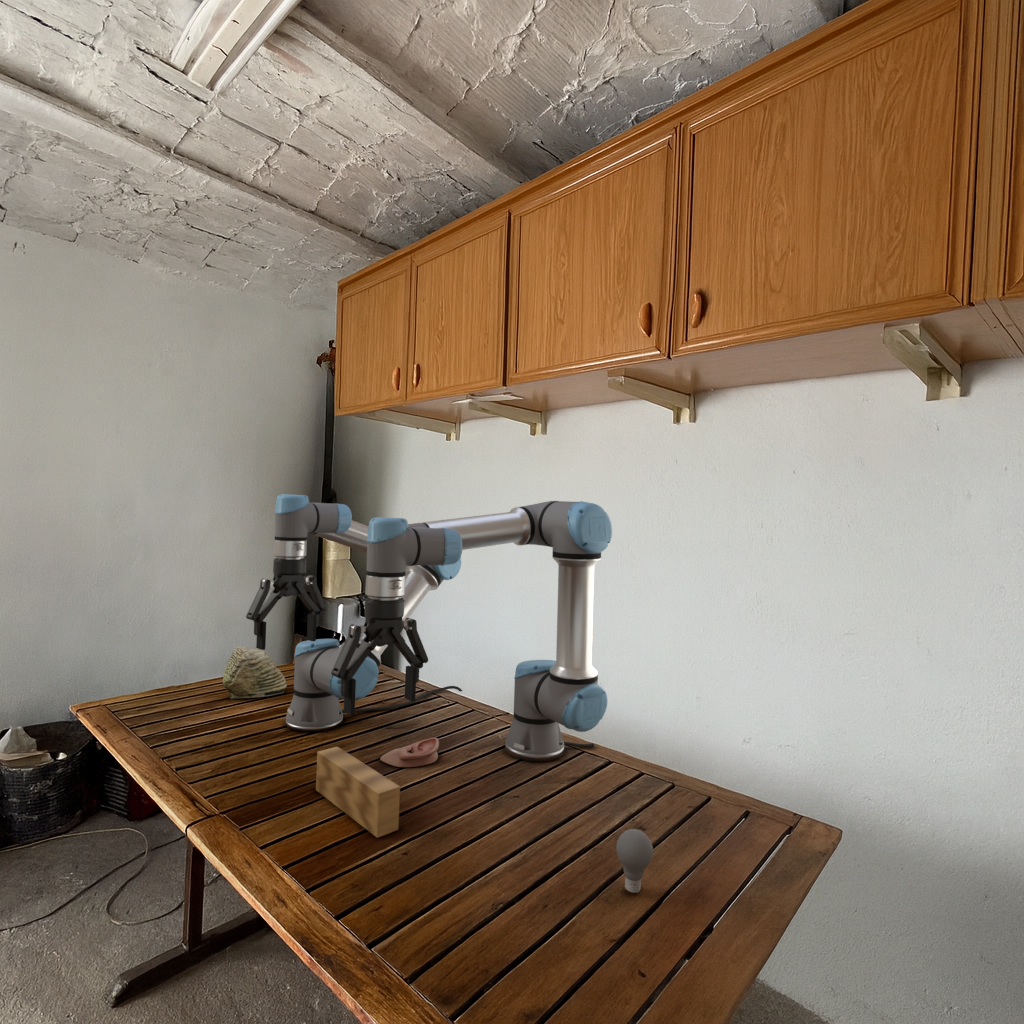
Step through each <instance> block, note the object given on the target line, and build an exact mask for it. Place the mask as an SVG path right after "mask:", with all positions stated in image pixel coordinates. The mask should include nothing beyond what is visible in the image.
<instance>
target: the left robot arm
mask: <svg viewBox="0 0 1024 1024" xmlns="http://www.w3.org/2000/svg"><path fill="white" fill-rule="evenodd" d="M274 514H275V515H274V543H273V556H274V559H273V564H272V565H273V566H272V572H273V578H272V579H268V578H261V579H260V583H259V588H258V591H257V592H256V594H255V596H254V598H253V601H252V602H251V605H250V606H249V609H248V611H247V613H246V615H245V618H246V619H247V620H249V621H253V635H254V636H256V641H255V642H256V643H255V645H256V646H255V649H257V648H258V649H261V650H264V651H265V650H266V646H267V645H266V641H267V621H264V620H265V619H266V618H267V616H268V615H269V613H270V612H271V611H272V609H273V608H274V607H275V606H276V604H277V603H278V602H279V600H281V599H282V598H283V597H285V598H287V597H290V596H293V597H295V596H296V597H298V598H299V600H301V602H302V603H303V605H304V606H305V607H306V608H307V610H309V612H310V613H307V623H306V640H304V641H300V642H299V643H297V644H296V646H295V650H294V655H293V657H294V672H293V673H294V674H293V695H292V696H293V697H292V699H291V702H290V704H289V707H288V708H287V710H286V712H287V713H286V715H285V726H286V728H287V729H289V730H291V731H294V732H295V731H296V732H301V733H316V732H325V731H329V730H332V729H335V728H337V727H339V726H340V725H342V723H343V722H344V714H347V713H346V712H344V709H342V706H341V702H340V700H344V696H342V695H341V678H338V677H335V676H333V675H332V674H331V672H332V669H333V667H334V665H335V663H336V661H337V659H338V657H339V654H340V652H341V650H342V648H343V646H344V644H345V641H346V639H345V640H344V641H343V642H342V643H341V644H340V641H339V639H337V638H318V639H317V628H318V627H319V624H320V616H321V615H322V614H323V612H326V611H327V606H326V603H325V601H324V599H323V597H322V594H321V591H320V588H319V586H318V581H317V576H315V575H310V574H308V575H306V576H305V574H306V573H307V559H306V558H304V557H306V556H307V544H308V543H307V542H308V534H309V535H313V536H315V537H319V538H322V539H325V540H328V541H331V542H334V543H337V544H340V545H341V546H344V547H348V548H351V549H354V550H357V551H360V552H362V553H366V554H367V535H368V527H369V525H366V524H364V523H361V522H359V521H356V520H353V518H352V517H353V515H352V514H353V513H352V510H351V508H350V507H349V506H348V505H347V504H344V503H338V502H337V503H330V502H329V503H327V502H310V499H309V496H308V495H306V494H289V493H288V494H286V493H281V494H278V496H277V497H276V501H275V509H274ZM461 567H462V556H461V557H460V559H459V560H458V562H456V563H455V564H449V565H444V566H441V565H413V566H406V575H405V595H404V596H402V597H401V598H403V599H404V600H405V601H404V616H403V617H402V620H403V621H404V620H405V619H406V618H410V617H411V615H412V614H413V613H414V611H415V610H416V609H417V607H418V606H419V605H420V604H421V603H422V601H423V599H425V597H426V595H427V594H428V593H429V591H436V590H438V588H439V587H440V586H441V584H442V583H443V581H450V580H452V579H455V578H456V577H457V575H458V574H459V572H460V570H461ZM305 585H307V589H308V591H309V593H310V596H311V597H310V596H309V595H308V592H307V591H306V589H305V588H304V586H305ZM271 588H272V590H271V591H270V589H271ZM269 592H270V593H269ZM268 594H269V596H268ZM365 636H366V635H365V633H363V636H361V637H360V640H359V643H358V645H357V647H356V650H355V652H356V651H357V649H358V648H359V646H360V645H361V644H360V643H361V641H362V640H363V638H364V637H365ZM369 643H371V642H370V641H369ZM388 646H389V645H384V646H381V647H378V646H376V647H375V649H374V650H372V651H371V652H370V653H369V655H368V656H367V658H366V659H365V660H364V662H363V663H362V665H361V666H360V667H359V669H358V670H357V672H356V673H355V675H354V676H353V677H352V678H353V679H355V680H356V691H355V701H359V700H362V699H364V698H366V697H367V696H368V695H369V694H370V693H372V691H373V690H374V689H375V687H376V686H377V684H378V680H379V678H378V676H380V675H379V674H380V672H379V667H380V666H381V664H382V660H381V655H382V654H383V653H384V651H385V650H386V649H387V648H388ZM355 652H354V653H355ZM353 655H354V654H353ZM450 689H452V690H457V692H463V689H462V688H460V687H459V686H456V685H447V686H443V687H440V688H436V689H432V690H428V691H427V692H424V693H423V694H420V695H418V696H417V697H415V701H410V700H408V701H406V702H402V703H398V704H397V703H396V704H392V705H385V706H377V707H366V708H365V707H364V708H355V713H363V712H364V713H365V712H366V713H367V712H375V711H376V712H377V711H384V710H390V709H396V708H397V709H398V708H402V707H405V706H408V705H411V704H413V703H416V702H417V701H419V700H421V699H423V698H426V697H427V696H429V695H431V694H434V693H439V692H442V691H447V690H450Z"/></svg>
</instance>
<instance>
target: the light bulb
mask: <svg viewBox="0 0 1024 1024" xmlns="http://www.w3.org/2000/svg"><path fill="white" fill-rule="evenodd" d="M615 849H616V854H617V857H618V859H619V861H620V863H621V865H622V867H623V873H624V874H623V875H624V876H625V878H624V888H625V890H627V891H628V892H630V893H634V894H635V893H639V892H640V891H641V889H642V887H641V886H642V879H643V877H644V875H645V871H646V868H647V867H648V866H649V864H650V863H651V861H652V859H653V855H654V847H653V843H652V841H651V838H649V836H648V835H647V834H646V833H645V832H643V831H642V830H641V829H636V828H629V829H627V830H625V831H623V832H622V833H621V834H620V835H619V837H618V839H617V841H616V847H615Z"/></svg>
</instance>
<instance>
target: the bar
mask: <svg viewBox="0 0 1024 1024" xmlns="http://www.w3.org/2000/svg"><path fill="white" fill-rule="evenodd" d="M315 777H316V778H315V779H316V780H315V791H316V792H318V793H319V794H320V795H321V796H323V797H324V798H325V799H327V801H329V802H330V803H332V804H333V805H334V806H336V807H337V808H338V809H340V810H341V811H342V812H343V813H345V814H346V815H347V816H348V817H350V818H351V819H352V820H354V821H355V822H356V823H357V824H359V825H360V826H361V827H363V828H364V829H365V830H367V831H368V832H369V833H370V834H371V835H373V836H374V837H375V838H381V837H383V836H386V835H388V834H391V833H394V832H396V831H398V830H399V827H400V825H399V823H400V801H401V799H400V798H401V786H400V785H399V784H397V783H395V782H394V781H392V780H391V779H389V778H388V777H386V776H384V775H382V774H381V773H380V772H378V771H377V770H375V769H374V768H372V767H370V766H369V765H367V764H365V763H364V762H363V761H361V760H359V759H358V758H356V757H355V756H353V755H352V754H350V753H348V752H347V751H345V750H344V749H342V748H341V747H339V746H333V747H330V748H329V747H328V748H326V749H322V750H318V751H317V752H316V776H315Z"/></svg>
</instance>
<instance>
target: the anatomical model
mask: <svg viewBox="0 0 1024 1024" xmlns="http://www.w3.org/2000/svg"><path fill="white" fill-rule="evenodd" d="M439 747H440V741H439V739H438V737H430V738H426V739H422V740H419V741H416V742H414V743H411V744H409V745H406V746H403V747H398V748H395V749H392V750H389V751H388V752H386V753H385V754H383V755H382V756H381V757H380V759H379V760H380V761H381V762H383V763H384V764H387V765H390V766H392V767H397V768H413V767H420V766H425V765H431V764H432V763H435V762H436V761H437V760H438V758H439V754H438V752H437V751H438V749H439Z"/></svg>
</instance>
